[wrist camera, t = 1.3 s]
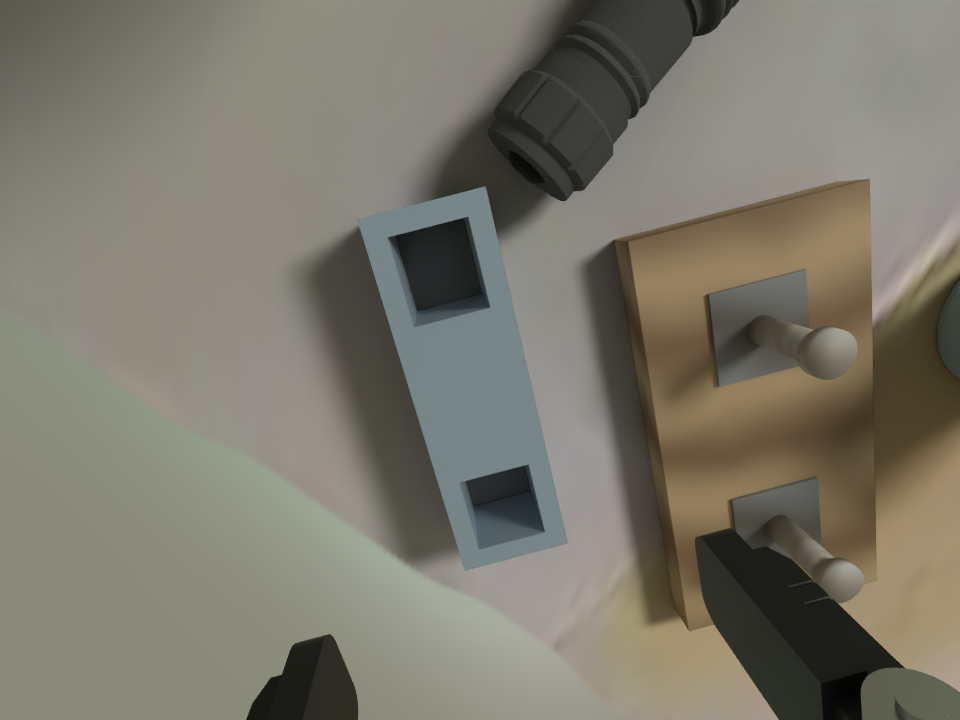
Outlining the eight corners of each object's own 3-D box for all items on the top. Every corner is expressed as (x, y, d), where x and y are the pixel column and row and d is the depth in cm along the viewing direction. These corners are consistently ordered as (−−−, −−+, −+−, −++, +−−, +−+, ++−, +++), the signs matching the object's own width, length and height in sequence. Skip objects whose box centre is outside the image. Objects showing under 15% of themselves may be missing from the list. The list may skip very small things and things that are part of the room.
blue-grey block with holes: (369, 218, 25) (357, 219, 21) (477, 190, 25) (485, 186, 21) (461, 525, 30) (464, 570, 26) (550, 501, 30) (567, 543, 26)
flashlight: (553, 214, 26) (583, 214, 21) (471, 139, 24) (481, 119, 19) (776, -55, 23) (873, -131, 18) (697, -154, 22) (778, -267, 17)
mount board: (614, 239, 26) (675, 248, 19) (838, 181, 26) (975, 170, 20) (674, 606, 33) (734, 707, 26) (851, 559, 33) (956, 647, 26)
